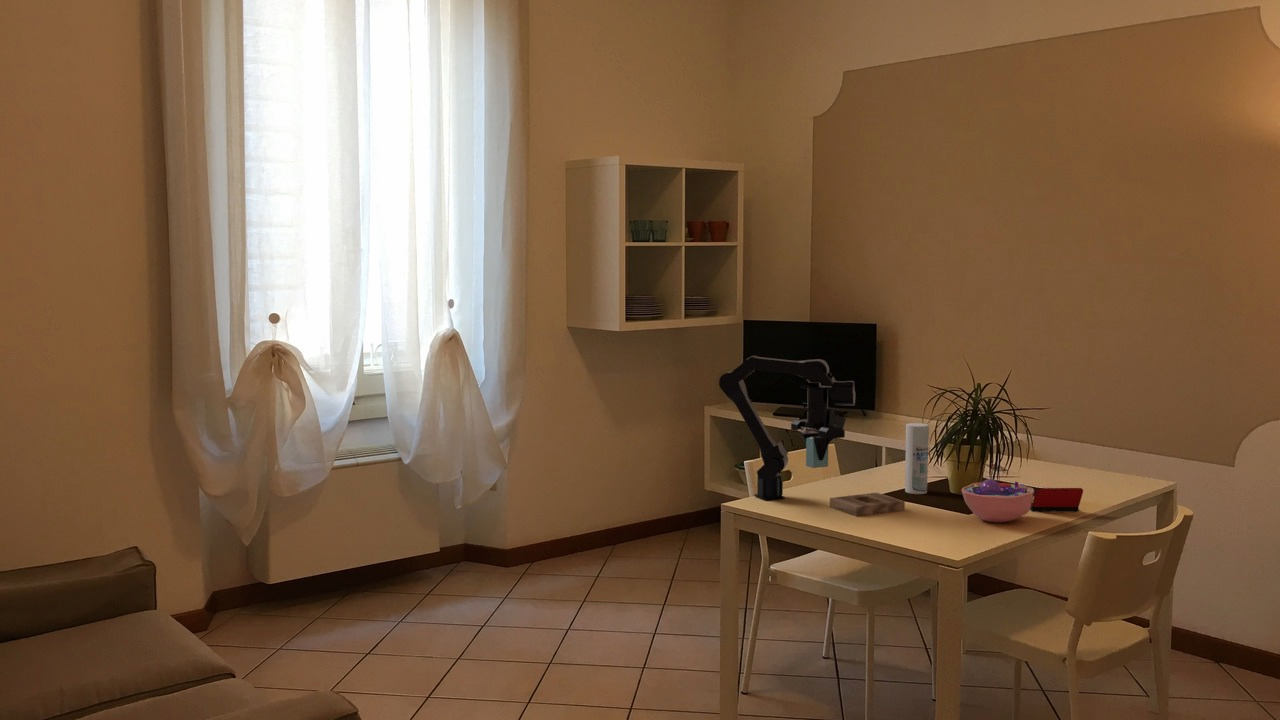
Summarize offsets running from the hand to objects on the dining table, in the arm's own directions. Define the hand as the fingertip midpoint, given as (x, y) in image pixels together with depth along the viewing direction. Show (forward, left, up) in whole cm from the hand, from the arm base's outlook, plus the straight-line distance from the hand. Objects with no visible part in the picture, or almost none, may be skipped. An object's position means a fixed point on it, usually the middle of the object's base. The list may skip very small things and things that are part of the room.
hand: (817, 459), depth 286 cm
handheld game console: (+51, -37, -12) cm, 65 cm away
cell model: (+30, -39, -12) cm, 51 cm away
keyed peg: (0, 0, -2) cm, 2 cm away
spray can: (+33, -3, -12) cm, 35 cm away
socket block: (+7, -14, -12) cm, 20 cm away
